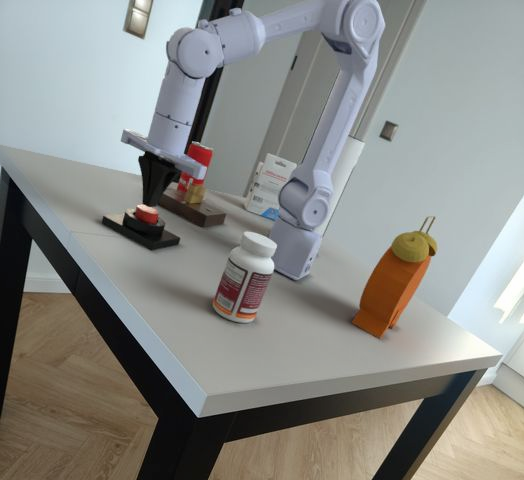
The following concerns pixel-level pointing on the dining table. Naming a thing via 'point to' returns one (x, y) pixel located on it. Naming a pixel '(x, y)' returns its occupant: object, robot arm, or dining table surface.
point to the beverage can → (203, 157)
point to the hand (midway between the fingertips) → (149, 205)
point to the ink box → (268, 186)
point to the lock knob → (195, 193)
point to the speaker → (342, 175)
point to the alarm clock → (395, 281)
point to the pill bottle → (245, 278)
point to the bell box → (141, 230)
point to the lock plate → (192, 209)
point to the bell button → (146, 213)
